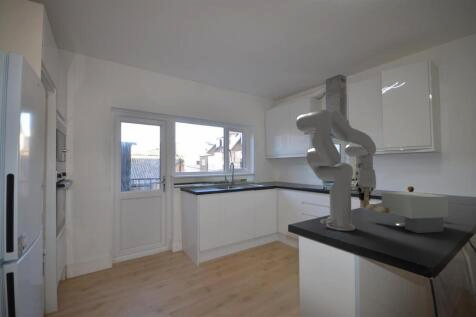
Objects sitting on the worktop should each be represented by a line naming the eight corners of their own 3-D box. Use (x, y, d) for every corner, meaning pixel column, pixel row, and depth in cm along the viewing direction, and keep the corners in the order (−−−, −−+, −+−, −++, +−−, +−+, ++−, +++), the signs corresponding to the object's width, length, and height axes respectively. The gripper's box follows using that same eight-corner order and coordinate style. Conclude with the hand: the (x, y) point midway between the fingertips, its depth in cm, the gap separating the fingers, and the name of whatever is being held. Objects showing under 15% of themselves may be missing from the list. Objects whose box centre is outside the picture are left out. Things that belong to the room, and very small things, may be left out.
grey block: (411, 233, 95) (411, 197, 95) (381, 223, 111) (380, 192, 111) (448, 231, 98) (447, 196, 98) (413, 221, 114) (413, 191, 115)
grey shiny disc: (407, 227, 103) (407, 226, 103) (395, 226, 107) (395, 224, 107) (408, 225, 107) (408, 223, 107) (395, 223, 111) (395, 222, 111)
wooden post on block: (360, 207, 117) (360, 185, 118) (364, 207, 117) (365, 185, 118) (384, 213, 101) (384, 187, 102) (390, 213, 102) (389, 188, 102)
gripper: (356, 165, 112) (356, 200, 111) (383, 167, 115) (383, 201, 114) (346, 166, 119) (346, 198, 118) (372, 167, 122) (372, 199, 121)
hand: (364, 199), depth 116 cm, fingers closed on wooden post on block, 3 cm apart
